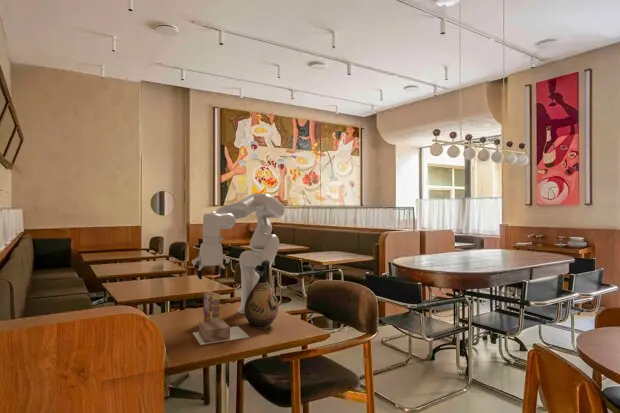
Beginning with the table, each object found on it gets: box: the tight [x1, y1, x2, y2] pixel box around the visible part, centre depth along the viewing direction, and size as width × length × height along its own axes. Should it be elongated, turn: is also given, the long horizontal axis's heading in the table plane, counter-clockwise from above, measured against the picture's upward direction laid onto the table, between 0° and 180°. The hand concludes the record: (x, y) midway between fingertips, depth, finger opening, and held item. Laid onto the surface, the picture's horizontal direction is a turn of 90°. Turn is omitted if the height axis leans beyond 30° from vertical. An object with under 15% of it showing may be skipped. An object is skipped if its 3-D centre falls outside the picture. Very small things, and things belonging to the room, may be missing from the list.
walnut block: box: [198, 318, 231, 344], centre depth 164 cm, size 10×12×5 cm
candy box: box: [202, 291, 221, 322], centre depth 181 cm, size 9×4×15 cm, turn 39°
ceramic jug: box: [244, 260, 279, 330], centre depth 182 cm, size 17×15×30 cm
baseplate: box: [192, 325, 250, 346], centre depth 167 cm, size 20×16×1 cm
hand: (211, 278), depth 180 cm, fingers open, 9 cm apart
